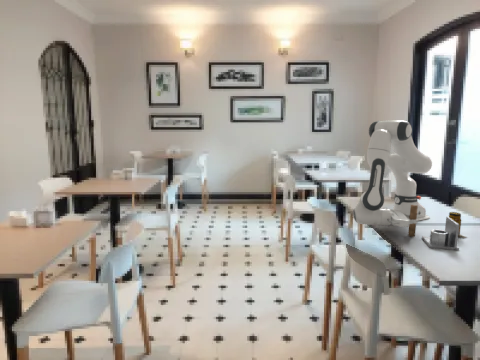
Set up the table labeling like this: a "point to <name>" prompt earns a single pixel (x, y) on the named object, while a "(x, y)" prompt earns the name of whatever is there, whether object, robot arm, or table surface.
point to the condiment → (457, 219)
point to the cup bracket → (444, 236)
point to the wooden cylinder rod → (412, 216)
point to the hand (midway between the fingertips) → (414, 219)
